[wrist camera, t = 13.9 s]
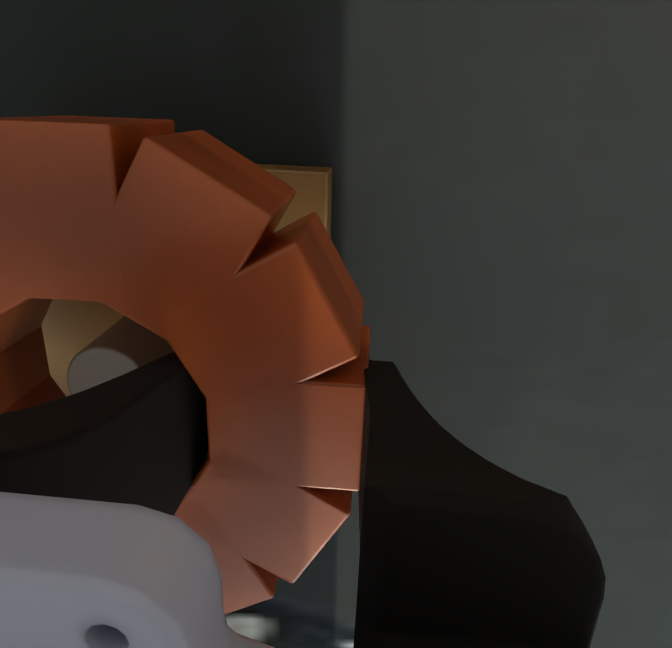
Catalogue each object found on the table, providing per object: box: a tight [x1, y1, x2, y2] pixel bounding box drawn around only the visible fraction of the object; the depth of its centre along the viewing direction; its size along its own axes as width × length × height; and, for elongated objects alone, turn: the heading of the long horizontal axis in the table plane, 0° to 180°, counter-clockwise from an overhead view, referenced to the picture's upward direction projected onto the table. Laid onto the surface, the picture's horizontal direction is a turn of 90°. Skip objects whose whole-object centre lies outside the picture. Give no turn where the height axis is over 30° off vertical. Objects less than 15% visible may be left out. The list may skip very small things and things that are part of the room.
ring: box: [0, 115, 370, 614], centre depth 13 cm, size 12×12×3 cm
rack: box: [42, 164, 333, 396], centre depth 15 cm, size 9×9×6 cm
